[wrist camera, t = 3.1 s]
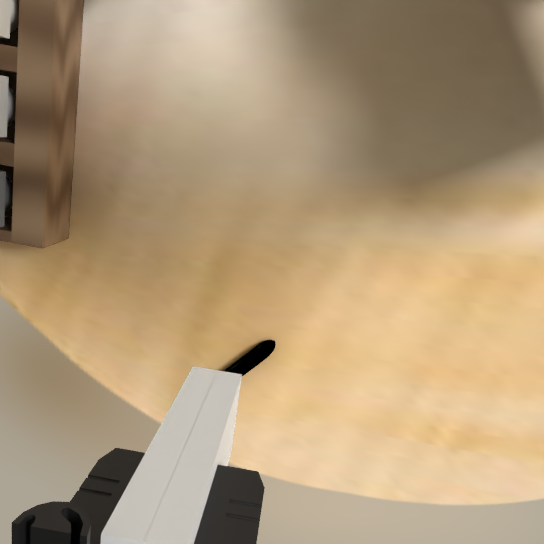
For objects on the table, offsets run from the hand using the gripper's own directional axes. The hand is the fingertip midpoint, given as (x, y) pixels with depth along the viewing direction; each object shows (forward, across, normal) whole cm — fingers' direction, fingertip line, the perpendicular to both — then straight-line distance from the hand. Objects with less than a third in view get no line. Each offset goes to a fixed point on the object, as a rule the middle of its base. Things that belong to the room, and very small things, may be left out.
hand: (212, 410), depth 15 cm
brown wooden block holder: (+35, -27, +8) cm, 45 cm away
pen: (+35, -4, -17) cm, 39 cm away
